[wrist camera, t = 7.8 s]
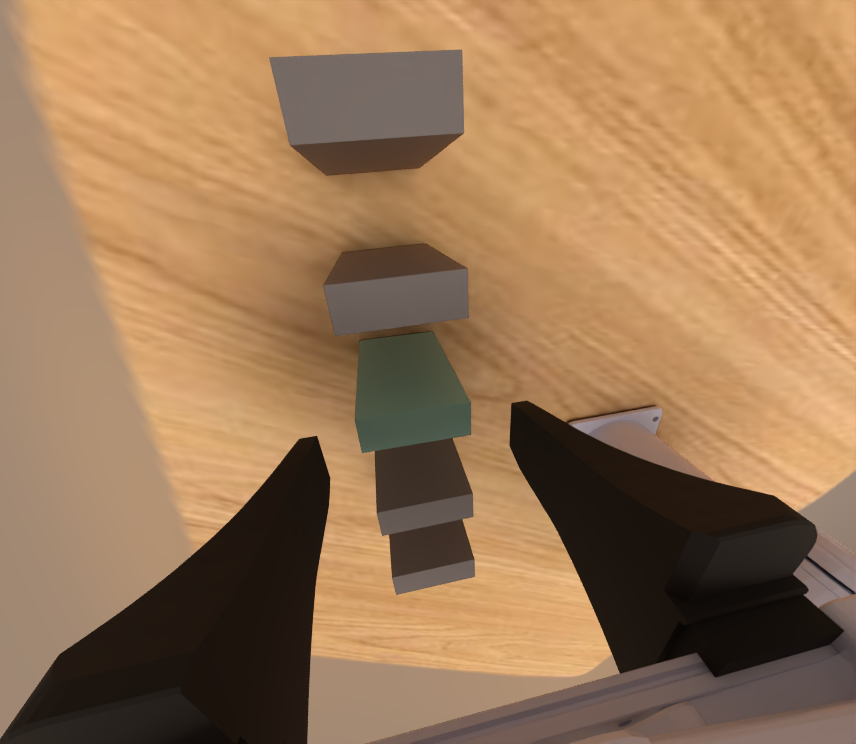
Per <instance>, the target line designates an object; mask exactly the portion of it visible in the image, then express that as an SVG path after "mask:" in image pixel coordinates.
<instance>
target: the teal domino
mask: <svg viewBox="0 0 856 744" xmlns="http://www.w3.org/2000/svg"><path fill="white" fill-rule="evenodd" d="M355 423H356V427H357V432H358V437H359V441H360V446H361V450H362V453H365V452H371V451H377V450H383V449H389V448H395V447H401V446H407V445H413V444H419V443H425V442H431V441H437V440H443V439H449V438H455V437H461V436H467V435H471V402H470V400H469V398H468V396H467V394H466V392H465V391H464V389H463V387H462V385H461V383H460V381H459V379H458V377H457V376H456V374H455V372H454V370H453V368H452V366H451V364H450V363H449V361H448V359H447V357H446V355H445V353H444V351H443V350H442V348H441V346H440V344H439V342H438V340H437V338H436V336H435V335H434V333H433V331H432V332H424V333H416V334H408V335H400V336H392V337H384V338H376V339H368V340H360V341H359V357H358V374H357V392H356V409H355Z"/></svg>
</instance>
